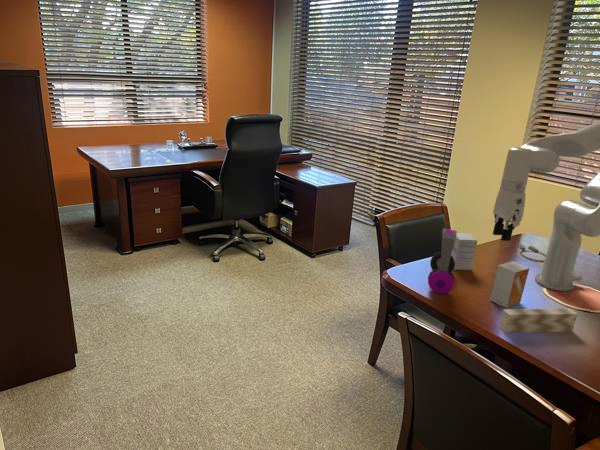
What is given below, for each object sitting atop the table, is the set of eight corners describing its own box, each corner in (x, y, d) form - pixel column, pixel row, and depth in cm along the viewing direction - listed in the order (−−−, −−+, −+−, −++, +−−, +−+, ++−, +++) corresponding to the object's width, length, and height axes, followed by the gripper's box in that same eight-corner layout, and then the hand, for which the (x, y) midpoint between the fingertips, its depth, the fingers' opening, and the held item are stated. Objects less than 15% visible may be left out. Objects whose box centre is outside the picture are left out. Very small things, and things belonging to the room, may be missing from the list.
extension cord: (548, 253, 196) (549, 248, 195) (548, 265, 182) (550, 261, 182) (518, 246, 201) (519, 242, 200) (516, 258, 188) (517, 253, 187)
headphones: (452, 298, 149) (463, 242, 142) (425, 292, 152) (434, 238, 145) (452, 273, 168) (462, 223, 161) (428, 269, 170) (437, 219, 164)
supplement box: (446, 261, 178) (451, 232, 174) (463, 262, 179) (469, 232, 174) (453, 269, 171) (459, 239, 167) (471, 270, 172) (478, 239, 167)
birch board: (565, 325, 137) (570, 308, 134) (572, 331, 134) (577, 314, 132) (498, 326, 134) (503, 309, 132) (504, 332, 131) (508, 314, 129)
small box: (506, 308, 144) (515, 272, 140) (489, 300, 149) (497, 264, 145) (520, 303, 149) (530, 267, 144) (503, 294, 154) (512, 260, 149)
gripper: (539, 193, 138) (526, 247, 145) (509, 179, 154) (498, 229, 160) (517, 192, 137) (504, 246, 144) (489, 179, 153) (478, 228, 159)
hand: (501, 237), depth 152 cm, fingers open, 4 cm apart
